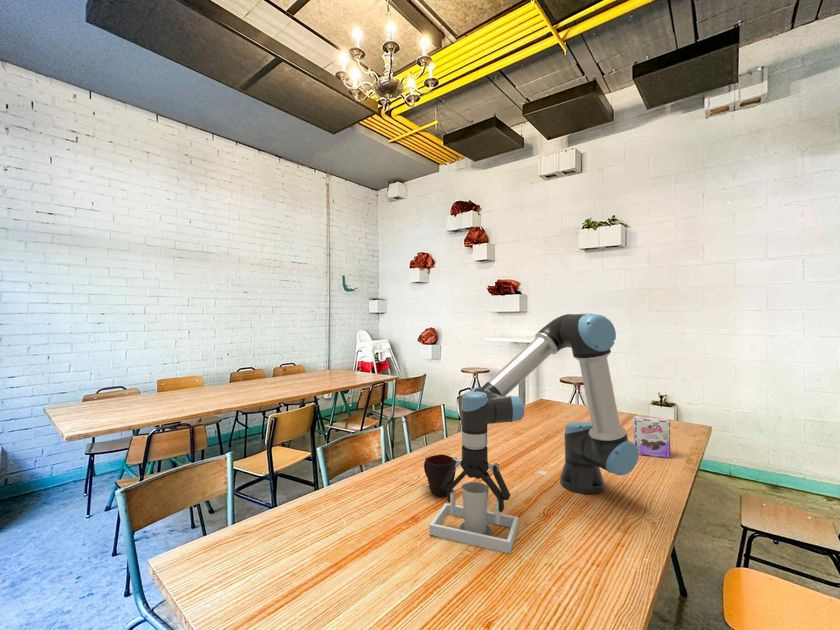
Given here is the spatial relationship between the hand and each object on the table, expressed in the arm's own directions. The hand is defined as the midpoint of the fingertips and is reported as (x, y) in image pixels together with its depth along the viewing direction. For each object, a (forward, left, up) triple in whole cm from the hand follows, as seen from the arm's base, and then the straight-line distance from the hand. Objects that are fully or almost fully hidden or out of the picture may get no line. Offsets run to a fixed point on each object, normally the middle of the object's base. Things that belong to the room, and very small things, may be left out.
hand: (475, 517), depth 114 cm
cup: (0, 0, -3) cm, 3 cm away
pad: (0, 0, -4) cm, 4 cm away
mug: (+19, -20, -4) cm, 28 cm away
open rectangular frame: (0, 0, -4) cm, 4 cm away
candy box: (-58, -90, -4) cm, 108 cm away
